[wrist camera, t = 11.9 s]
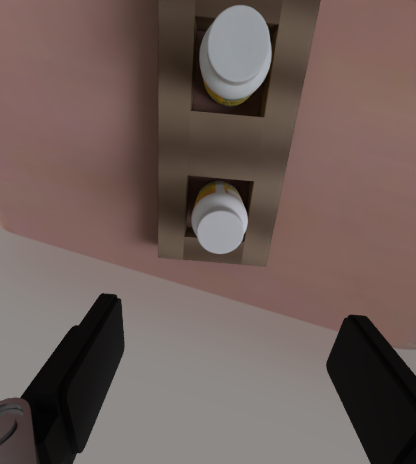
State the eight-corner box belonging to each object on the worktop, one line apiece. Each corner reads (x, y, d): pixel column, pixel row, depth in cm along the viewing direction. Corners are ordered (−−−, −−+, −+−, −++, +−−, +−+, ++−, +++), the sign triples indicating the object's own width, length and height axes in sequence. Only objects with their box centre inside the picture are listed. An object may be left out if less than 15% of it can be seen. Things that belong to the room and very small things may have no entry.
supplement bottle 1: (242, 31, 22) (260, -36, 13) (265, 89, 24) (295, 63, 15) (193, 65, 23) (180, 24, 15) (218, 118, 25) (221, 109, 16)
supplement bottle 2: (195, 222, 30) (187, 260, 21) (196, 178, 28) (187, 200, 19) (238, 223, 30) (249, 263, 21) (242, 180, 28) (256, 203, 19)
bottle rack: (165, -15, 21) (158, -37, 18) (310, -1, 21) (325, -21, 18) (162, 246, 31) (158, 257, 28) (261, 254, 31) (265, 266, 29)
